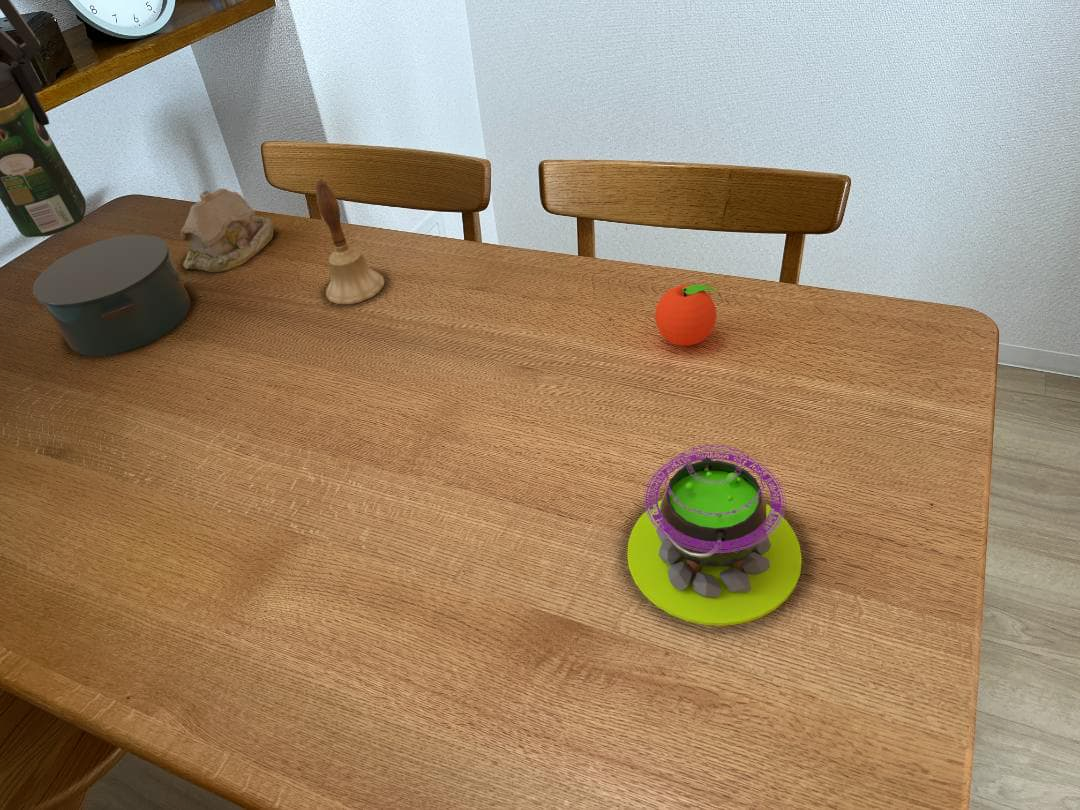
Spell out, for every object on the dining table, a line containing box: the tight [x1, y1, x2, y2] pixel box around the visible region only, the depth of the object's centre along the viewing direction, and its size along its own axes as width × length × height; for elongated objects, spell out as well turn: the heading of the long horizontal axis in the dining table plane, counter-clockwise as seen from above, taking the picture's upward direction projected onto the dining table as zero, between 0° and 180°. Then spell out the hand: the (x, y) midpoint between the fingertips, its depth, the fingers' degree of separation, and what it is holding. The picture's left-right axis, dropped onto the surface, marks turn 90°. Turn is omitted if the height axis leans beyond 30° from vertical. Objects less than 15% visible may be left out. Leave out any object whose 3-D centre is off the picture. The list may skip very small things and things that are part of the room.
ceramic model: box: [180, 188, 274, 273], centre depth 124 cm, size 14×11×10 cm
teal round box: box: [32, 234, 191, 357], centre depth 112 cm, size 18×21×9 cm
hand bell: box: [315, 179, 385, 305], centre depth 108 cm, size 8×8×16 cm
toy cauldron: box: [626, 444, 803, 627], centre depth 67 cm, size 15×15×11 cm
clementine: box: [654, 284, 722, 347], centre depth 92 cm, size 8×7×7 cm
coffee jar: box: [0, 61, 87, 238], centre depth 93 cm, size 10×8×19 cm
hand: (5, 132), depth 92 cm, fingers closed on coffee jar, 8 cm apart
